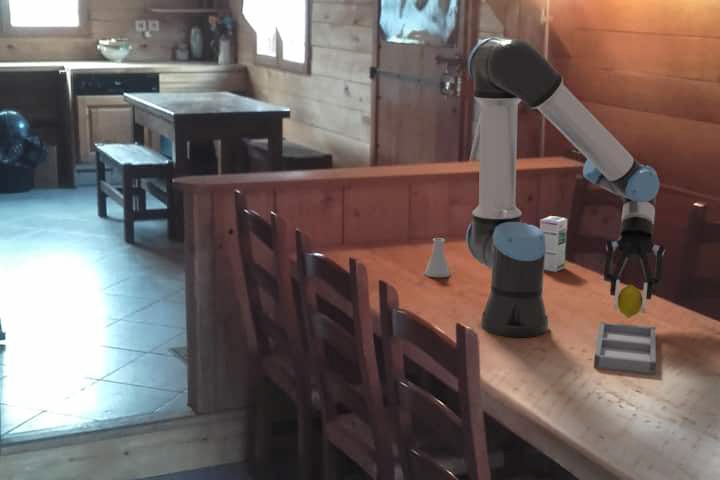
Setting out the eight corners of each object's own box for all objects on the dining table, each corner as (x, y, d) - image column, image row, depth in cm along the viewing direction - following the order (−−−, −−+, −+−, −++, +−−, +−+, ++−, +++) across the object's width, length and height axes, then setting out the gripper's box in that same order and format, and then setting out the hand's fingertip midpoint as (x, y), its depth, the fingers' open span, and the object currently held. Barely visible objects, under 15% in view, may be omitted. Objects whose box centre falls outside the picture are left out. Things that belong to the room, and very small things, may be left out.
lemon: (641, 322, 224) (644, 289, 222) (616, 320, 225) (619, 287, 223) (639, 315, 229) (643, 282, 227) (615, 313, 230) (618, 280, 228)
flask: (451, 278, 263) (453, 242, 260) (424, 278, 263) (425, 242, 260) (449, 271, 270) (451, 236, 267) (423, 271, 270) (424, 235, 267)
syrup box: (556, 272, 270) (559, 221, 267) (537, 268, 274) (540, 218, 270) (565, 268, 275) (568, 218, 271) (546, 264, 278) (549, 215, 275)
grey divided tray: (654, 374, 197) (655, 363, 197) (593, 367, 200) (594, 356, 200) (654, 338, 219) (655, 327, 218) (599, 332, 222) (600, 321, 221)
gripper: (676, 235, 235) (670, 321, 223) (597, 228, 240) (587, 311, 228) (679, 218, 228) (673, 305, 217) (598, 211, 233) (588, 296, 222)
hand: (629, 308), depth 223 cm, fingers closed on lemon, 5 cm apart
